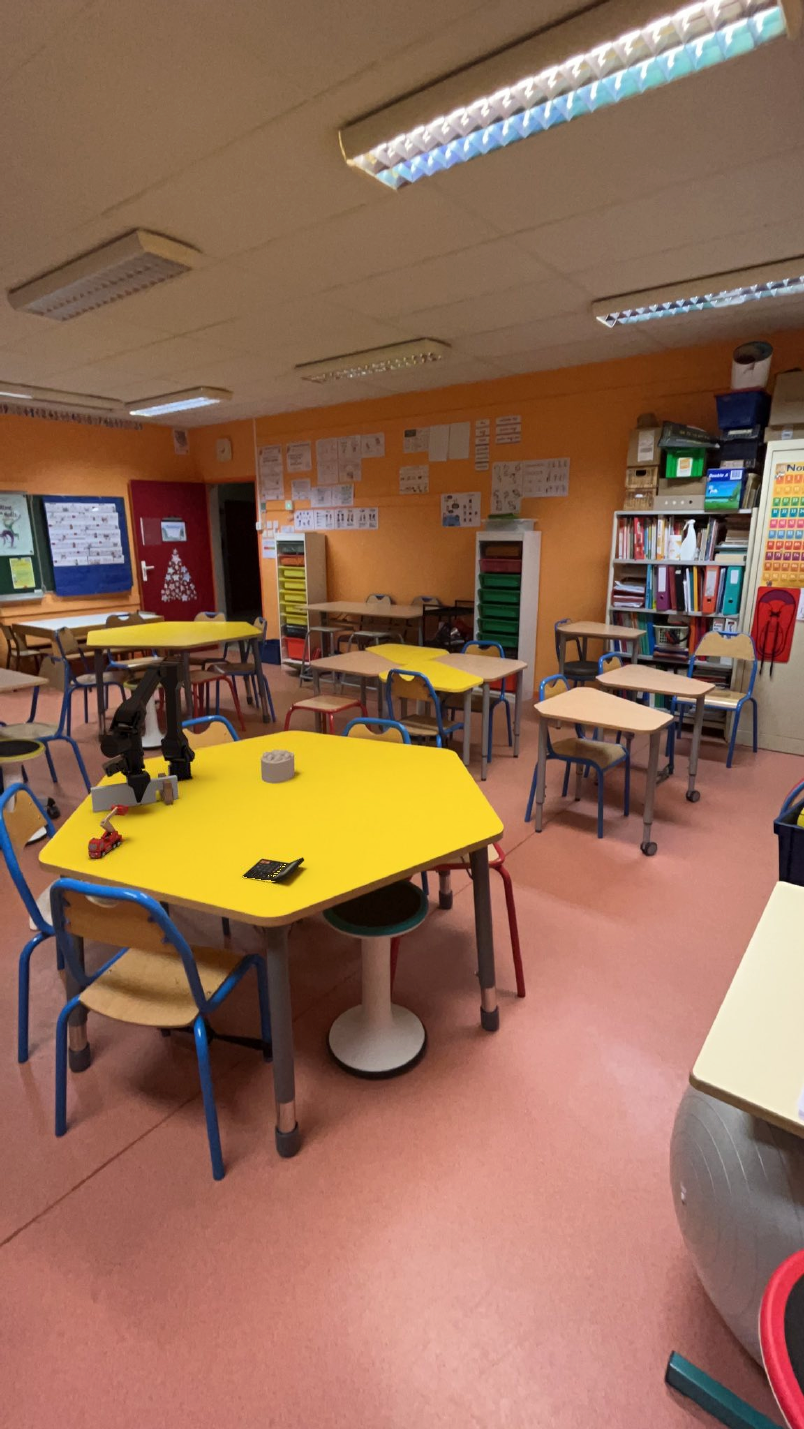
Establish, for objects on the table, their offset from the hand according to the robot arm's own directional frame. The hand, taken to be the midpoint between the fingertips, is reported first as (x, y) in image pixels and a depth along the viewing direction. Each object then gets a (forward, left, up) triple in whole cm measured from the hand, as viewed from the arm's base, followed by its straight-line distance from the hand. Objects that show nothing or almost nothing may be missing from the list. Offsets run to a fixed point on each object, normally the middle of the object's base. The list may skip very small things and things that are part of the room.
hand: (136, 797), depth 196 cm
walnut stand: (-8, 0, -2) cm, 9 cm away
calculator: (-21, +61, -3) cm, 65 cm away
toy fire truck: (+11, +28, -2) cm, 30 cm away
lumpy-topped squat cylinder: (-46, -4, -2) cm, 46 cm away
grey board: (0, 0, -2) cm, 2 cm away
